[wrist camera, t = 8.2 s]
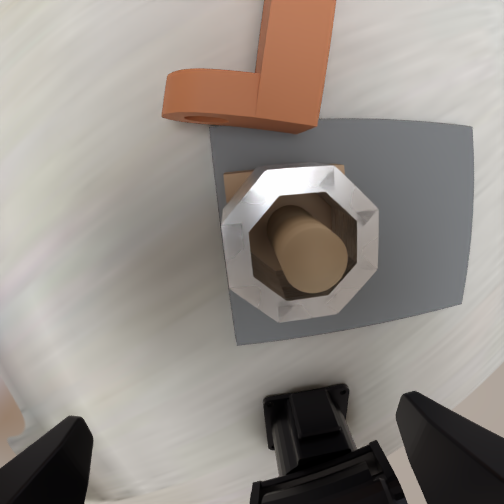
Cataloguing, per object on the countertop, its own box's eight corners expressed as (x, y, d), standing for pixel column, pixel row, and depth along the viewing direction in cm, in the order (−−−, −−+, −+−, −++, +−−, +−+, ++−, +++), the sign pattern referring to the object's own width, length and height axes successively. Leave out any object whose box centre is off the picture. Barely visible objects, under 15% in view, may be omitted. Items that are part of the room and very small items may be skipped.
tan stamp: (338, 266, 18) (385, 320, 12) (236, 279, 18) (241, 343, 12) (334, 163, 17) (391, 173, 10) (223, 172, 16) (220, 185, 10)
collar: (349, 278, 17) (375, 307, 14) (233, 293, 17) (234, 328, 14) (347, 159, 15) (377, 163, 12) (218, 170, 15) (214, 175, 12)
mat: (457, 300, 21) (461, 303, 20) (236, 340, 20) (236, 345, 20) (466, 126, 17) (472, 126, 16) (209, 128, 16) (209, 127, 16)
